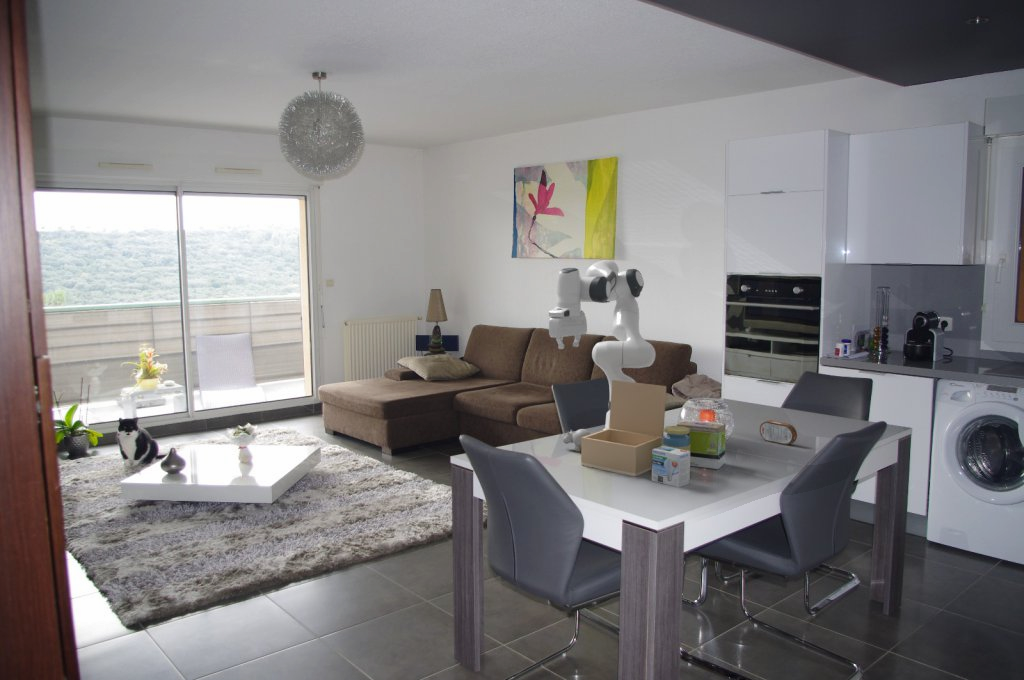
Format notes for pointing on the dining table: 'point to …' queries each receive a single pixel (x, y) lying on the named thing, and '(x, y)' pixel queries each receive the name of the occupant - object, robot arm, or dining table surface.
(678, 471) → the light bulb box
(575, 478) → the dining table surface
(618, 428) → the carton flap
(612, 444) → the carton
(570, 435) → the toy rhinoceros
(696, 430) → the tea box
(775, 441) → the tin
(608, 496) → the dining table surface
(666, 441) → the jar
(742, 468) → the dining table surface
